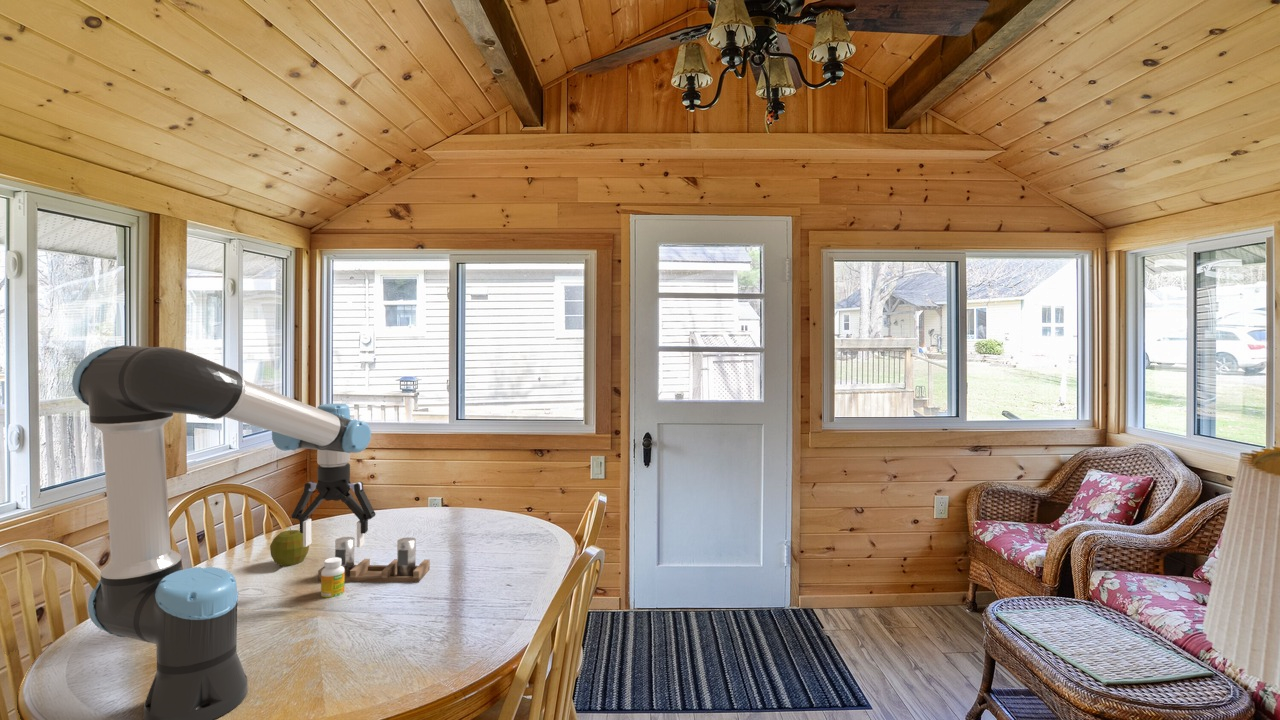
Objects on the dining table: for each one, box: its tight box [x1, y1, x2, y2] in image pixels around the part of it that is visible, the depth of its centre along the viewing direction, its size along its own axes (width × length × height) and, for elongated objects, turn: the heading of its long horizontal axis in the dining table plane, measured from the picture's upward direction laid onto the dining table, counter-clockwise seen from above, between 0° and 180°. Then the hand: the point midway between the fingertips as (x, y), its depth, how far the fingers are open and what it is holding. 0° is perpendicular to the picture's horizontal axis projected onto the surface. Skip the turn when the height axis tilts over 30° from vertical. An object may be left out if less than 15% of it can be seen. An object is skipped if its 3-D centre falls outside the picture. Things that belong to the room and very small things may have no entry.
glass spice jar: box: [396, 537, 417, 576], centre depth 166 cm, size 5×5×10 cm
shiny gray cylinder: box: [334, 536, 355, 576], centre depth 165 cm, size 5×5×10 cm
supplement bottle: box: [320, 556, 345, 599], centre depth 154 cm, size 5×5×10 cm
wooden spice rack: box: [317, 558, 431, 583], centre depth 166 cm, size 9×27×4 cm, turn 92°
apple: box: [269, 528, 310, 567], centre depth 175 cm, size 10×10×11 cm
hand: (334, 545), depth 154 cm, fingers open, 13 cm apart
